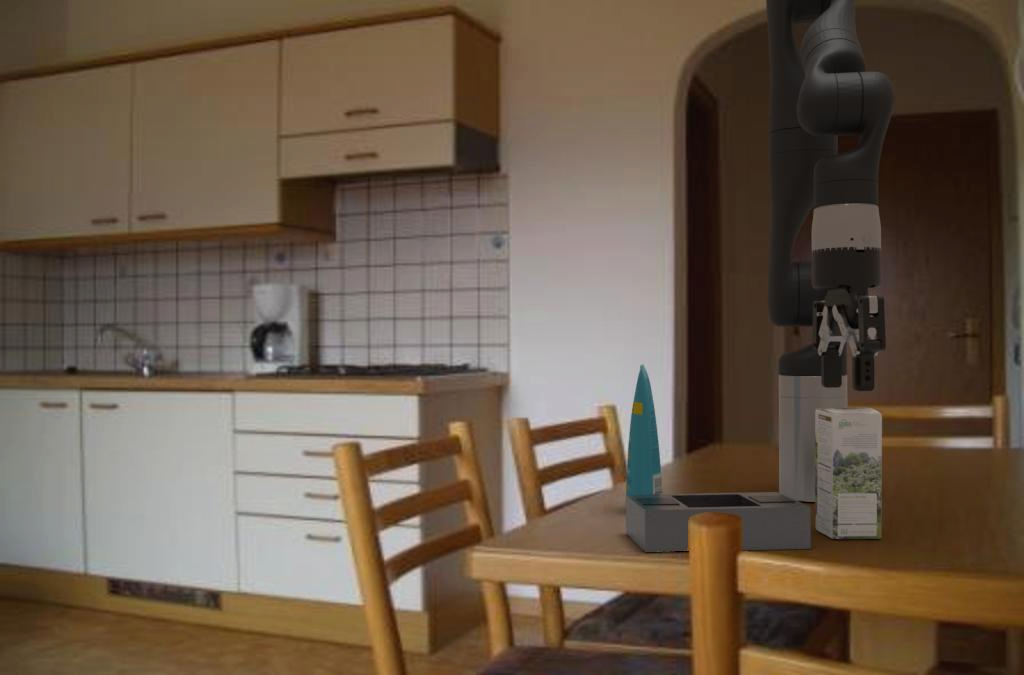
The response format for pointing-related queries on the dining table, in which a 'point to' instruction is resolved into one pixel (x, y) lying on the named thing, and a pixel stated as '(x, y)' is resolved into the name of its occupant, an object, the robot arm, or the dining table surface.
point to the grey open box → (763, 513)
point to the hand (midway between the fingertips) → (847, 389)
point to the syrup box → (848, 472)
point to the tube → (643, 442)
